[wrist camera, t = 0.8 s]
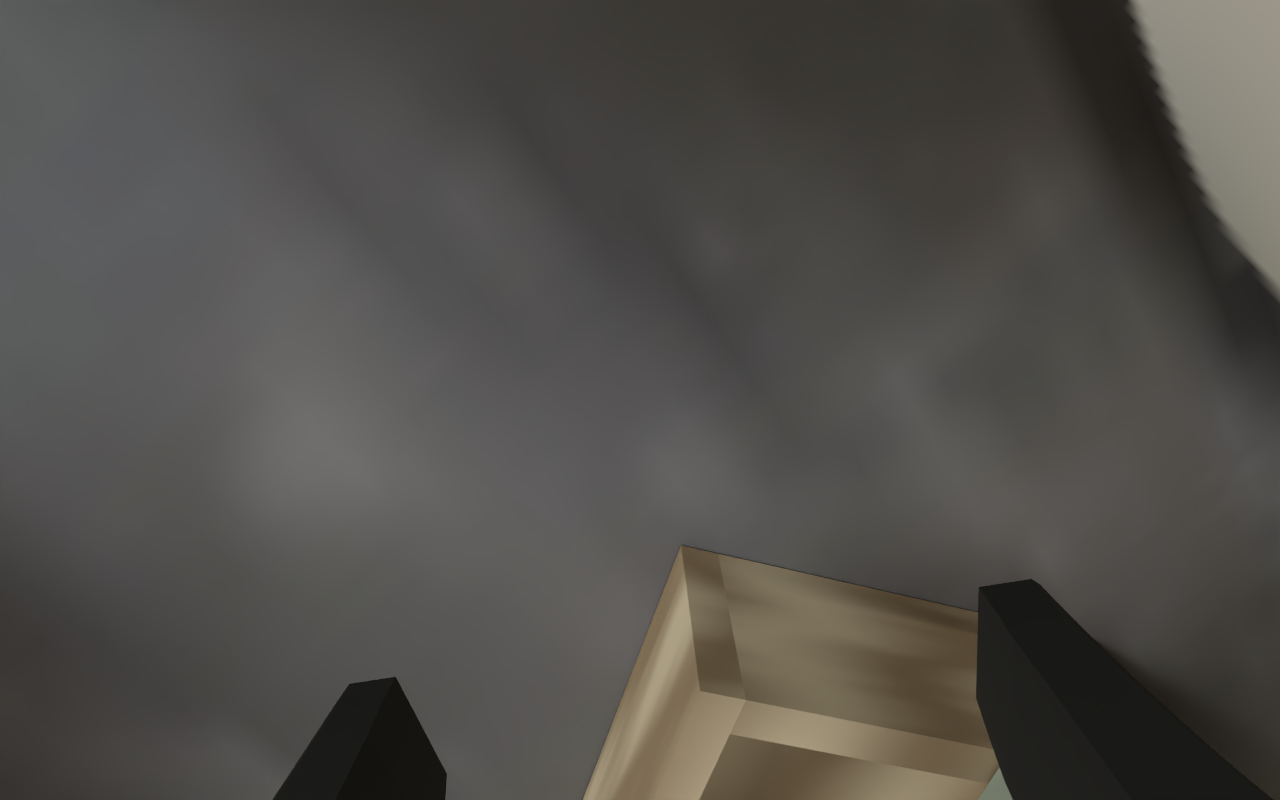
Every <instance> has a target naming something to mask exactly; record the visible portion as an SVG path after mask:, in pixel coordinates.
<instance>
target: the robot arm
mask: <svg viewBox="0 0 1280 800" xmlns="http://www.w3.org/2000/svg"><path fill="white" fill-rule="evenodd" d="M976 700H977V703H978V706H979V709H980V712H981V715H982V718H983V721H984V724H985V727H986V730H987V733H988V736H989V739H990V742H991V744H992V747H993V750H994V753H995V756H996V759H997V761H998V764H999V767H1000V770H1001V773H1002V776H1003V778H1004V781H1005V784H1006V786H1007V788H1008V790H1009V792H1010V795H1011V797H1012V799H1013V800H1273V799H1272V798H1270V797H1269V796H1268V795H1267V794H1266V793H1264V792H1263V791H1262V790H1261V789H1259V788H1258V787H1257V786H1256V785H1255V784H1253V783H1252V782H1251V781H1250V780H1249V779H1247V778H1246V777H1245V776H1244V775H1242V774H1241V773H1240V772H1239V771H1238V770H1236V769H1235V768H1234V767H1233V766H1232V765H1231V764H1229V763H1228V762H1227V761H1226V760H1225V759H1224V758H1222V757H1221V756H1220V755H1219V754H1218V753H1217V752H1215V751H1214V750H1213V749H1212V748H1211V747H1210V746H1209V745H1207V744H1206V743H1205V742H1204V741H1203V740H1202V739H1201V738H1199V737H1198V736H1197V735H1196V734H1195V733H1194V732H1193V731H1192V730H1191V729H1189V728H1188V727H1187V726H1186V725H1185V724H1184V723H1183V722H1182V721H1181V720H1179V719H1178V718H1177V717H1176V716H1175V715H1174V714H1173V713H1172V712H1170V711H1169V710H1168V709H1167V708H1166V707H1165V706H1164V705H1163V704H1162V703H1160V702H1159V701H1158V700H1157V699H1156V698H1155V697H1154V696H1153V695H1152V694H1150V693H1149V692H1148V691H1147V690H1146V689H1145V688H1144V687H1143V686H1142V685H1141V684H1140V683H1139V682H1138V681H1137V680H1135V679H1134V678H1133V677H1132V676H1131V675H1130V674H1129V673H1128V672H1127V671H1126V670H1125V669H1124V668H1123V667H1122V666H1121V665H1120V664H1119V663H1118V662H1117V661H1116V660H1115V659H1114V658H1112V657H1111V656H1110V655H1109V654H1108V653H1107V652H1106V651H1105V650H1104V649H1103V648H1102V647H1101V646H1100V645H1099V644H1098V643H1097V642H1096V641H1095V640H1094V639H1093V638H1092V637H1091V636H1090V635H1089V634H1088V633H1087V632H1086V631H1085V630H1084V629H1083V628H1082V627H1081V626H1080V625H1079V624H1078V623H1077V622H1076V621H1075V620H1074V619H1073V618H1072V617H1071V616H1070V615H1069V614H1068V613H1067V612H1066V611H1065V610H1064V609H1063V608H1062V607H1061V606H1060V605H1059V604H1058V603H1057V602H1056V601H1055V600H1054V599H1053V598H1052V597H1051V596H1050V595H1049V593H1048V592H1047V591H1046V590H1045V589H1044V588H1043V587H1042V586H1041V585H1040V584H1038V583H1037V582H1035V581H1034V580H1032V579H1029V580H1022V581H1016V582H1009V583H1003V584H996V585H990V586H983V587H979V601H978V638H977V675H976ZM446 778H447V773H446V772H445V770H444V768H443V766H442V764H441V762H440V760H439V758H438V756H437V754H436V753H435V751H434V749H433V747H432V745H431V743H430V741H429V739H428V737H427V735H426V734H425V732H424V730H423V728H422V726H421V724H420V722H419V720H418V718H417V717H416V715H415V713H414V711H413V709H412V707H411V705H410V703H409V701H408V699H407V698H406V696H405V694H404V692H403V690H402V688H401V686H400V684H399V682H398V680H397V679H396V677H392V678H385V679H379V680H372V681H366V682H359V683H353V684H349V685H348V687H347V688H346V690H345V691H344V692H343V694H342V695H341V697H340V698H339V700H338V701H337V703H336V704H335V706H334V707H333V709H332V710H331V712H330V713H329V715H328V716H327V718H326V719H325V721H324V722H323V724H322V725H321V727H320V728H319V730H318V731H317V733H316V735H315V736H314V738H313V739H312V741H311V742H310V744H309V745H308V747H307V748H306V750H305V751H304V753H303V754H302V756H301V757H300V759H299V760H298V762H297V764H296V765H295V767H294V768H293V770H292V771H291V773H290V774H289V776H288V777H287V779H286V780H285V782H284V783H283V785H282V786H281V788H280V789H279V791H278V792H277V794H276V795H275V797H274V798H273V800H445V794H446Z"/></svg>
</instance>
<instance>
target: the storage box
mask: <svg viewBox="0 0 1280 800" xmlns="http://www.w3.org/2000/svg"><path fill="white" fill-rule="evenodd" d="M977 638H978V612H974V611H969V610H965V609H960V608H956V607H952V606H947V605H943V604H938V603H934V602H929V601H925V600H921V599H916V598H912V597H907V596H903V595H899V594H894V593H890V592H885V591H881V590H876V589H872V588H868V587H863V586H859V585H854V584H850V583H845V582H841V581H837V580H832V579H828V578H823V577H819V576H815V575H810V574H806V573H801V572H797V571H792V570H788V569H784V568H779V567H775V566H770V565H766V564H761V563H757V562H753V561H748V560H744V559H739V558H735V557H731V556H726V555H722V554H717V553H713V552H708V551H704V550H700V549H695V548H691V547H686V546H682V545H681V547H680V549H679V552H678V554H677V557H676V560H675V562H674V565H673V567H672V570H671V573H670V575H669V578H668V580H667V583H666V586H665V588H664V591H663V593H662V596H661V599H660V601H659V604H658V606H657V609H656V611H655V614H654V617H653V619H652V622H651V624H650V627H649V630H648V632H647V635H646V637H645V640H644V643H643V645H642V648H641V650H640V653H639V656H638V658H637V661H636V663H635V666H634V669H633V671H632V674H631V676H630V679H629V681H628V684H627V687H626V689H625V692H624V694H623V697H622V700H621V702H620V705H619V707H618V710H617V713H616V715H615V718H614V720H613V723H612V726H611V728H610V731H609V733H608V736H607V738H606V741H605V744H604V746H603V749H602V751H601V754H600V757H599V759H598V762H597V764H596V767H595V770H594V772H593V775H592V777H591V780H590V783H589V785H588V788H587V790H586V793H585V795H584V798H583V800H978V799H979V797H980V796H981V794H982V793H983V791H984V790H985V788H986V787H987V785H988V784H989V782H990V781H991V779H992V778H993V776H994V775H995V773H996V772H997V770H998V769H999V764H998V761H997V759H996V756H995V753H994V750H993V747H992V744H991V742H990V739H989V736H988V733H987V730H986V727H985V724H984V721H983V718H982V715H981V712H980V709H979V706H978V703H977V700H976V675H977Z"/></svg>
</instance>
